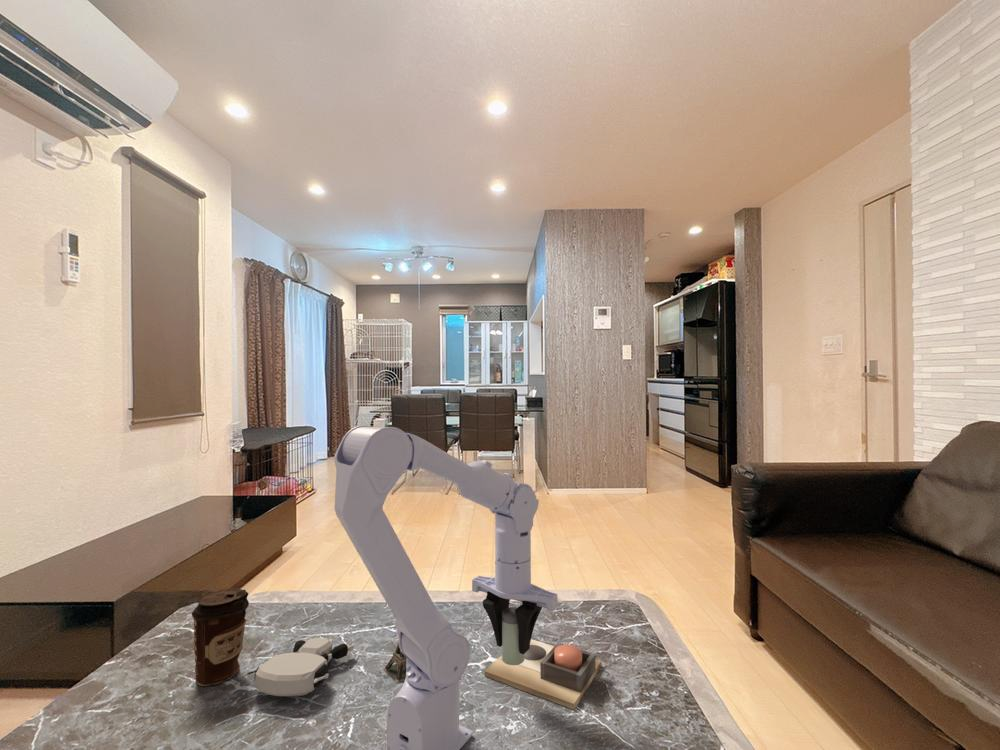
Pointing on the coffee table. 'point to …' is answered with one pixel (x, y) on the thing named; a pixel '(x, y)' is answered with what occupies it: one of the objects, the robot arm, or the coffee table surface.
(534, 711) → the coffee table surface
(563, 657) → the button
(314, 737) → the coffee table surface
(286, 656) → the robot toy
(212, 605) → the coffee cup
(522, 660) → the green capped bottle
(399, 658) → the eiffel tower figurine
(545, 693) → the wooden base tray
